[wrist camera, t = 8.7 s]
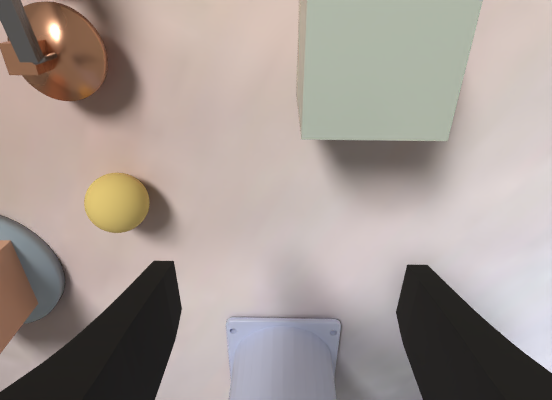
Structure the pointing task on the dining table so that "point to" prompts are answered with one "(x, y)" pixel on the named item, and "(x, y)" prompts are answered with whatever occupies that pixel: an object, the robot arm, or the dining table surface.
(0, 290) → the peach matte cube
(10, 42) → the balance
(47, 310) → the saucer
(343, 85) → the sage green cube
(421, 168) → the dining table surface
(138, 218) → the ball
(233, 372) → the robot arm
